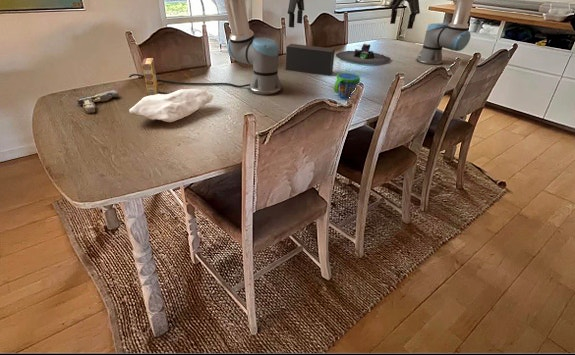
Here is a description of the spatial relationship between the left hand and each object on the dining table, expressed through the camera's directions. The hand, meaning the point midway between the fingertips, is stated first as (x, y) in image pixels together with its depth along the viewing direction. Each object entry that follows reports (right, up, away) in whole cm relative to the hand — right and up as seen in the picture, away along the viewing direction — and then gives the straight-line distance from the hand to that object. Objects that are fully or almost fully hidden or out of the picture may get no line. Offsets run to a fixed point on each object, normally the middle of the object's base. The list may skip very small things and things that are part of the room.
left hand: (295, 25), depth 198 cm
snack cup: (+23, -45, -25) cm, 56 cm away
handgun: (-84, -52, -42) cm, 107 cm away
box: (+8, -22, +10) cm, 25 cm away
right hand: (+54, -5, -10) cm, 55 cm away
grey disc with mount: (+44, -5, +38) cm, 59 cm away
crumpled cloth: (-52, -57, -48) cm, 91 cm away
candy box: (-66, -45, -31) cm, 86 cm away
